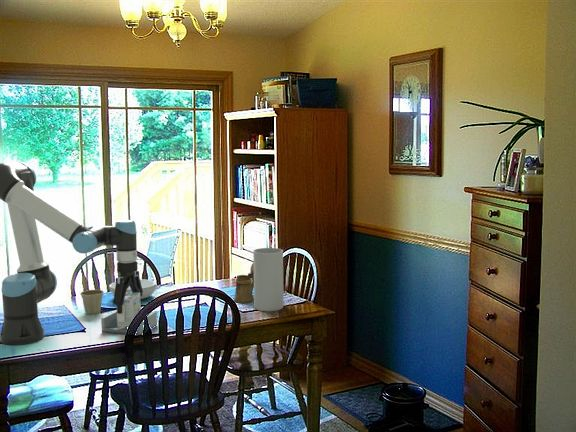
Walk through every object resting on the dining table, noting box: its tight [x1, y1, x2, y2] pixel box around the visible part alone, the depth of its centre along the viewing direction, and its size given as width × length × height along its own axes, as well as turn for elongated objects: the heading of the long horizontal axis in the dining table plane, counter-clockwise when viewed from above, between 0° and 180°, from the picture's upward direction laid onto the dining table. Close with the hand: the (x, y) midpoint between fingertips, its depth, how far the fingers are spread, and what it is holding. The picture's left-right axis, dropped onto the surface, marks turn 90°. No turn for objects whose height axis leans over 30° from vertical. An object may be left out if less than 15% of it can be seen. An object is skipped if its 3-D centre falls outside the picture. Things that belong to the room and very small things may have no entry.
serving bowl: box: [108, 278, 157, 301], centre depth 302 cm, size 21×21×7 cm
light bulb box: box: [117, 292, 142, 327], centre depth 255 cm, size 11×7×11 cm, turn 178°
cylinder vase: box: [252, 247, 284, 313], centre depth 283 cm, size 12×12×25 cm
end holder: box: [100, 309, 158, 336], centre depth 255 cm, size 13×16×6 cm
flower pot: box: [79, 289, 105, 315], centre depth 279 cm, size 9×9×9 cm
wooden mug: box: [233, 262, 254, 304], centre depth 297 cm, size 9×14×18 cm, turn 125°
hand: (129, 317), depth 255 cm, fingers closed on light bulb box, 11 cm apart
